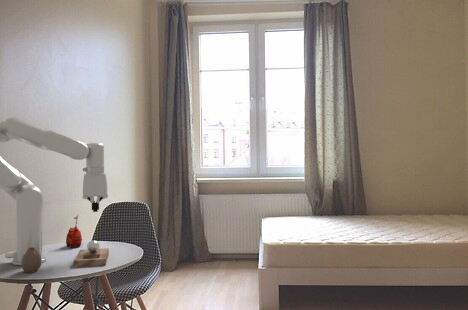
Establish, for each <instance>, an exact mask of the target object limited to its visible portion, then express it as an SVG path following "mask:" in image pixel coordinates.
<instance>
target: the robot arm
mask: <svg viewBox="0 0 468 310" xmlns="http://www.w3.org/2000/svg"><path fill="white" fill-rule="evenodd" d="M12 140H16V141H19V142H22V143H24V144H27V145H30V146H32V147H36V148H39V149H42V150H44V151H51V152H54V153H58V154H60V155H64V156H67V157H69V158H70V159H71V160H77V161H81V160H84V159H85V160H86V161H85V163H86V164H85V167H83V168H82V172H85V173H84V175H83V178H82V179H83V181H82V199H83V200H88V201H89V202H90V203H91V211H92V213H97V212H98V211H100V203H101V201H102V200H105V199H108V197H109V196H108V195H109V194H108V180H107V174H106V173H105V145H104V144H103V143H100V142H89V143H84V142H82V141H80V140H77V139H74V138H71V137H70V136H69V137H68V136H66V135H64V134H60V133H58V132H55V131H54V130H51V129H48V128H45V127H42V126H40V125H38V124H34V123H32V122H30V121H28V120H24V119H21V118H19V117H16V116H15V117H12V116H11V117H8V118H6V119H5V120H2V121H0V145H1V144H3V143H6V142H9V141H12ZM0 189H2V190H3V191H4V192H5V193H7V194H8V195H9V196H10V197H11V198H12V199H14V200H15V202H16V209H15V210H16V213H15V214H16V215H15V217H16V218H15V219H16V220H15V223H16V225H15V226H16V228H15V229H16V232H15V233H16V237H15V238H16V239H15V240H16V246H15V247H16V248H15V249H16V250H15V251H14V252H5V253H4V258H6V259H12V261H11V263H12V265H15V266H21V261H22V257H23V255H24V254H25V253H26V252H27V250H28V248H35V249H36V251H37V252H38V253H39V254H40V256H41V264H42V263H44V262H46V261H47V256H46V255H43V206H44V196H43V193H42V191H41V189H40V188H39V187H38V186H37V185H35V184H34V183H33V182H31V180H30V179H28V178H27V177H26V176H25V175H24V174H22V173H21V172H20V171H19V170H18V169H17V168H16V167H13V166H12V165H10V164H9V162H7V161H6V160H5V159H4V158H3V157H2V156H0ZM94 197H96V201H95V198H94Z"/></svg>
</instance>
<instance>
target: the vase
mask: <svg viewBox="0 0 468 310" xmlns="http://www.w3.org/2000/svg"><path fill="white" fill-rule="evenodd" d="M20 266H21V269H22V270H23V271H24V272H25V273H36V272H37V271H39V270H40V268H41V266H42V263H41V256H40V254H39V253H38V252H37V251H36V249H35V248H28V250H27V252H26V253H25V254H24V255H23V257H22V261H21V265H20Z"/></svg>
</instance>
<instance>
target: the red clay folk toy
mask: <svg viewBox="0 0 468 310" xmlns="http://www.w3.org/2000/svg"><path fill="white" fill-rule="evenodd" d="M78 218H79V215H77V216H74V218H73V219H74V220H75V226H74V227H70V228H69V229H68V233H66V239H65V241H66V242H65V244H66V247H68V248H72V249H76V248H78V247H80V246H82V240H83V238H82V237H83V236H82V233H81V231H80V229H79V228H78V226H77V224H78Z"/></svg>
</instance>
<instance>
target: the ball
mask: <svg viewBox="0 0 468 310" xmlns="http://www.w3.org/2000/svg"><path fill="white" fill-rule="evenodd" d="M86 249H88V250H89V251H90V252H96V251H97V250H98V249H100V243H99V241H97V240H94V239H93V240H90V241H89V242H88V243H87V246H86Z"/></svg>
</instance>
